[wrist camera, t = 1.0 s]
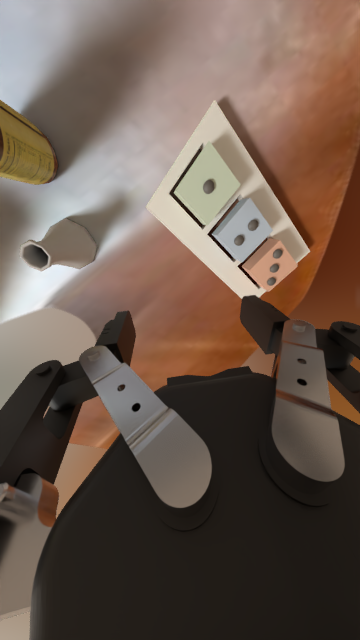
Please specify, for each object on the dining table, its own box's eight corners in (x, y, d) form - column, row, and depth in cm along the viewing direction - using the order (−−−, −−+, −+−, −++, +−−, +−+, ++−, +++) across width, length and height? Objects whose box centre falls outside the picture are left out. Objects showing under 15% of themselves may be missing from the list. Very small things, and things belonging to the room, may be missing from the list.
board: (210, 109, 21) (214, 99, 20) (302, 249, 32) (310, 251, 30) (146, 208, 26) (145, 207, 24) (245, 302, 37) (249, 306, 35)
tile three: (269, 238, 28) (281, 240, 25) (286, 261, 31) (299, 266, 28) (241, 266, 30) (250, 271, 27) (260, 286, 33) (269, 292, 30)
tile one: (203, 149, 22) (209, 139, 19) (232, 188, 24) (241, 184, 21) (173, 192, 24) (175, 189, 21) (203, 224, 26) (208, 225, 23)
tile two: (240, 199, 25) (250, 197, 22) (262, 229, 27) (274, 230, 25) (211, 234, 27) (217, 235, 24) (234, 258, 29) (242, 263, 27)
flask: (63, 207, 25) (13, 201, 16) (105, 245, 28) (82, 256, 20) (40, 244, 27) (-15, 255, 19) (82, 275, 30) (51, 297, 22)
